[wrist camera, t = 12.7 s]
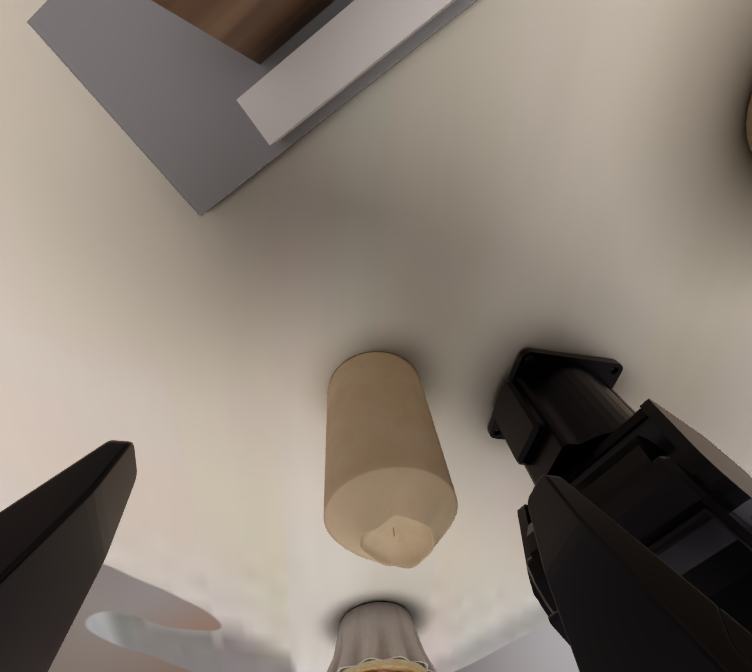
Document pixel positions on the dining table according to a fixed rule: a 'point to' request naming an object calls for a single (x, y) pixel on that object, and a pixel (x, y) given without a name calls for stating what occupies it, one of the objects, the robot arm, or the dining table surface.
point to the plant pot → (749, 124)
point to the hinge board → (227, 79)
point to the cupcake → (379, 641)
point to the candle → (384, 463)
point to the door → (248, 21)
